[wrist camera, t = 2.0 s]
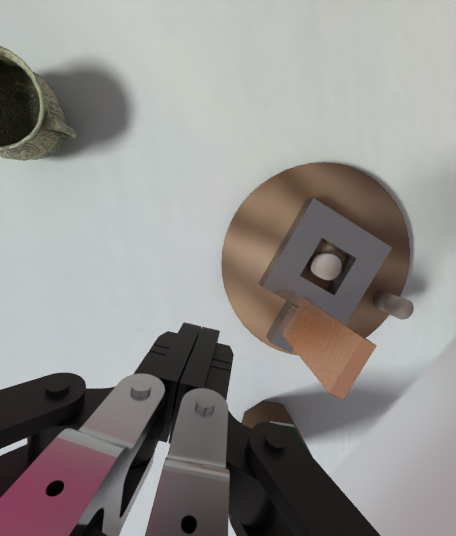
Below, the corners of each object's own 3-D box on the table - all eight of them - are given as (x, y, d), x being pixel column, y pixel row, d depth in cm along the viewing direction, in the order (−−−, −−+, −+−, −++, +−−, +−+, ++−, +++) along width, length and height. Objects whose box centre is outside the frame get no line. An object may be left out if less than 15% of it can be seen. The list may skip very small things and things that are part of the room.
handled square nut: (306, 199, 35) (382, 185, 21) (381, 246, 37) (495, 261, 23) (236, 321, 36) (265, 383, 22) (312, 359, 38) (381, 438, 24)
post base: (267, 130, 35) (282, 114, 29) (431, 211, 39) (470, 209, 33) (192, 316, 37) (192, 332, 32) (354, 373, 41) (379, 396, 36)
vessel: (97, 102, 32) (75, 73, 26) (77, 181, 33) (51, 172, 27) (-23, 57, 30) (-78, 15, 24) (-41, 143, 31) (-98, 124, 25)
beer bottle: (226, 433, 40) (276, 733, 17) (260, 388, 40) (362, 630, 16) (270, 459, 42) (373, 767, 18) (303, 416, 41) (454, 674, 18)
